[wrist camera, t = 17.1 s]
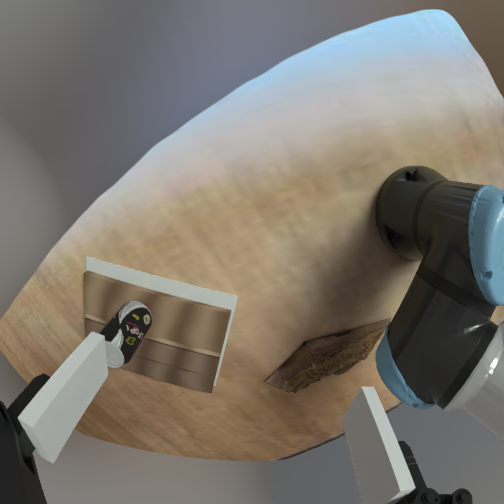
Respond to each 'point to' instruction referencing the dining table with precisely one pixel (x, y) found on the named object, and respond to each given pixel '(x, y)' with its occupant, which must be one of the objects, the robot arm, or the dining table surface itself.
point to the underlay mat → (166, 289)
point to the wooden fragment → (327, 357)
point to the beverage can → (126, 332)
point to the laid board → (169, 362)
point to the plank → (159, 314)
